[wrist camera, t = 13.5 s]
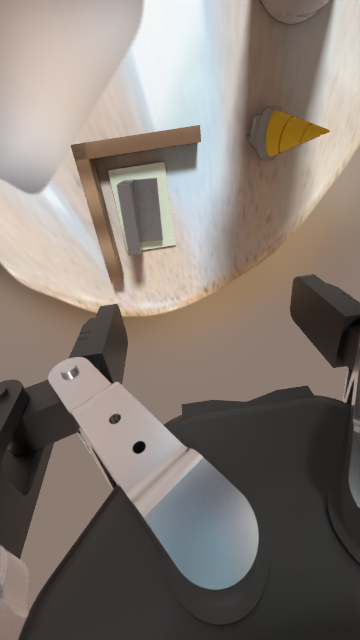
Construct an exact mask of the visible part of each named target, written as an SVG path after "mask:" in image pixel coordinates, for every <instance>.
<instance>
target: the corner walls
mask: <svg viewBox="0 0 360 640" xmlns="http://www.w3.org/2000/svg"><path fill="white" fill-rule="evenodd" d="M199 142H201V134H200V125H197V126H191V127H184V128H178V129H172V130H165V131H159V132H152V133H146V134H139V135H133V136H126V137H120V138H113V139H107V140H100V141H94V142H87V143H81V144H74V145H71V148H72V152H73V155H74V158H75V162H76V165H77V169H78V172H79V175H80V179H81V182H82V186H83V189H84V192H85V196H86V199H87V203H88V206H89V209H90V213H91V216H92V220H93V223H94V226H95V230H96V233H97V237H98V240H99V243H100V247H101V250H102V254H103V257H104V260H105V264H106V267H107V271H108V274H109V277H110V281H111V283H115V282H122V278H123V275H124V274H123V270H122V266H121V262H120V258H119V254H118V251H117V247H116V243H115V239H114V235H113V231H112V228H111V224H110V220H109V216H108V212H107V208H106V205H105V201H104V197H103V193H102V189H101V185H100V182H99V178H98V174H97V170H96V166H95V163H94V159H96V158H102V157H109V156H115V155H122V154H128V153H135V152H141V151H148V150H154V149H161V148H167V147H174V146H180V145H187V144H193V143H199Z"/></svg>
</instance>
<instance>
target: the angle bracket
mask: <svg viewBox="0 0 360 640" xmlns="http://www.w3.org/2000/svg"><path fill="white" fill-rule="evenodd" d="M117 190H118V196H119V202H120V208H121V213H122V219H123V225H124V231H125V236H126V242H127V248H128V254H129V255H137V254H141V248H142V242H146V241H157V240H163V235H162V225H161V215H160V205H159V195H158V185H157V178H145V179H133V180H123V181H121V182H120V183H119V184H117Z"/></svg>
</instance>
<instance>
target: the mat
mask: <svg viewBox="0 0 360 640" xmlns="http://www.w3.org/2000/svg"><path fill="white" fill-rule="evenodd" d="M108 174H109V178H110V182H111V186H112V190H113V194H114V198H115V203H116V207H117V211H118V215H119V219H120V223H121V227H122V232H123V236H124V240H125V244H126V248H127V242H126V236H125V231H124V225H123V219H122V213H121V208H120V202H119V196H118V190H117V184H119V183H120V182H121V181H123V180H133V179H145V178H157V185H158V195H159V205H160V215H161V225H162V235H163V240H157V241H146V242H142V248H141V250H146V249H153V248H159V247H166V246H172V245H176V242H175V235H174V227H173V220H172V213H171V206H170V199H169V191H168V184H167V177H166V170H165V163H164V162H159V163H153V164H146V165H140V166H133V167H127V168H120V169H114V170H108ZM127 252H128V248H127Z"/></svg>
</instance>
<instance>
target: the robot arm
mask: <svg viewBox="0 0 360 640" xmlns="http://www.w3.org/2000/svg"><path fill="white" fill-rule="evenodd" d="M261 1H262V3H263V5H264V7H265V9H266V10H267V11H268V12H269V14H270V15H271V16H272V17H274V18H275V19H277V20H278V21H280V22H283V23H286V24H296V23H299V22H302V21H305V20H306V19H308V18H310V17H311V16H313V15H314V14H315V13H316V12H317V11H319V10H320V9H321V8H323V7H324V6H325V5H326V4H327V3H328V2H329V1H330V0H261ZM290 312H291V317H292V319H293V321H294V322H295V323H296V324H297V325H298V326H299V327H300V329H301V330H302V331H303V333H304V334H305V335H306V336H307V337H308V339H309V340H310V341H311V342H312V343H313V344H314V346H315V347H316V348H317V349H318V350H319V352H320V353H321V354H322V355H323V356H324V357H325V359H326V360H327V361H328V362H329V363H330V365H331V366H332V367H333V368H336V367H343V366H347V367H348V368H349V369H348V372H347V376H346V382H345V388H344V394H343V400H342V401H339V400H336V399H333V398H329V397H324V396H315V395H313V393H312V392H311V390H310V389H309V387H308V386H302V387H295V388H288V389H282V390H276V391H274V392H271V393H268V394H266V395H264V396H261V397H258V398H256V399H253V400H251V401H248V402H239V401H221V400H209V401H203V402H196V403H190V404H183V405H182V414H183V415H180V416H178V417H176V418H174V419H172V420H170V421H169V422H167V423H166V424H164V425H162V424H161V423H160V422H159V421H158V420H157V419H156V418H155V417H154V416H153V415H152V414H151V413H150V412H149V411H148V410H147V409H146V408H145V407H144V406H143V405H142V404H141V403H140V402H139V401H138V400H137V399H136V398H135V397H134V396H133V395H131V394H130V393H129V392H128V391H127V390H126V389H125V388H124V387H123V386H122V380H123V373H124V367H125V359H126V353H127V347H128V340H127V334H126V329H125V326H124V323H123V319H122V316H121V312H120V309H119V306H118V305H117V304H113V305H106V306H100V308H99V310H98V313H97V316H96V318H92V319H89V320H88V321H87V322H86V323H85V324H84V325H83V327H82V329H81V332H80V335H79V336H78V338H77V341H76V343H75V345H74V348H73V350H72V352H71V355H70V357H69V359H67V360H64V361H62V362H61V363H59V364H58V365H56V366H55V367H54V368H53V369H52V370H51V372H50V373H49V375H48V380H46V381H44V382H41V383H38V384H35V385H33V386H30V387H27V388H24V387H23V385H22V384H21V382H20V381H17V380H7V381H3V382H0V640H360V303H359V302H358V301H357V300H355V299H353V298H352V297H351V296H350V295H348V294H346V292H344V291H343V290H341V289H340V288H339V287H336V286H333V285H331V284H328V283H325V282H324V281H322V280H321V279H320V278H318V277H317V276H316V275H314V274H312V275H305V276H299V277H296V278H294V280H293V287H292V296H291V305H290ZM74 433H78V435H79V436H80V438H81V440H82V441H83V443H84V444H85V446H86V448H87V449H88V451H89V452H90V454H91V455H92V457H93V458H94V460H95V461H96V463H97V465H98V466H99V468H100V470H101V471H102V473H103V475H104V476H105V478H106V480H107V481H108V483H109V485H110V486H111V488H112V489H113V491H112V492H111V494H110V495H109V496H108V498H107V499H106V500H105V502H104V503H103V505H102V506H101V507H100V509H99V510H98V512H97V513H96V514H95V516H94V517H93V518H92V520H91V521H90V523H89V524H88V525H87V527H86V528H85V529H84V531H83V532H82V534H81V535H80V536H79V538H78V539H77V541H76V542H75V543H74V545H73V546H72V547H71V549H70V550H69V552H68V553H67V554H66V556H65V557H64V559H63V560H62V561H61V563H60V564H59V566H58V567H57V568H56V570H55V571H54V572H53V574H52V575H51V577H50V578H49V579H48V581H47V582H46V584H45V585H44V587H43V588H42V590H41V591H40V593H39V594H38V596H37V598H36V600H35V601H34V603H33V605H32V607H31V609H30V611H29V613H28V608H27V595H28V589H29V571H28V569H27V566H26V565H25V564H24V563H23V562H22V561H21V560H20V557H21V553H22V550H23V546H24V543H25V540H26V536H27V533H28V529H29V526H30V522H31V519H32V516H33V512H34V509H35V506H36V502H37V499H38V496H39V492H40V489H41V485H42V482H43V478H44V475H45V471H46V468H47V465H48V461H49V458H50V455H51V451H52V448H53V444H54V442H56V441H58V440H60V439H63V438H65V437H67V436H70V435H72V434H74Z"/></svg>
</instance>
